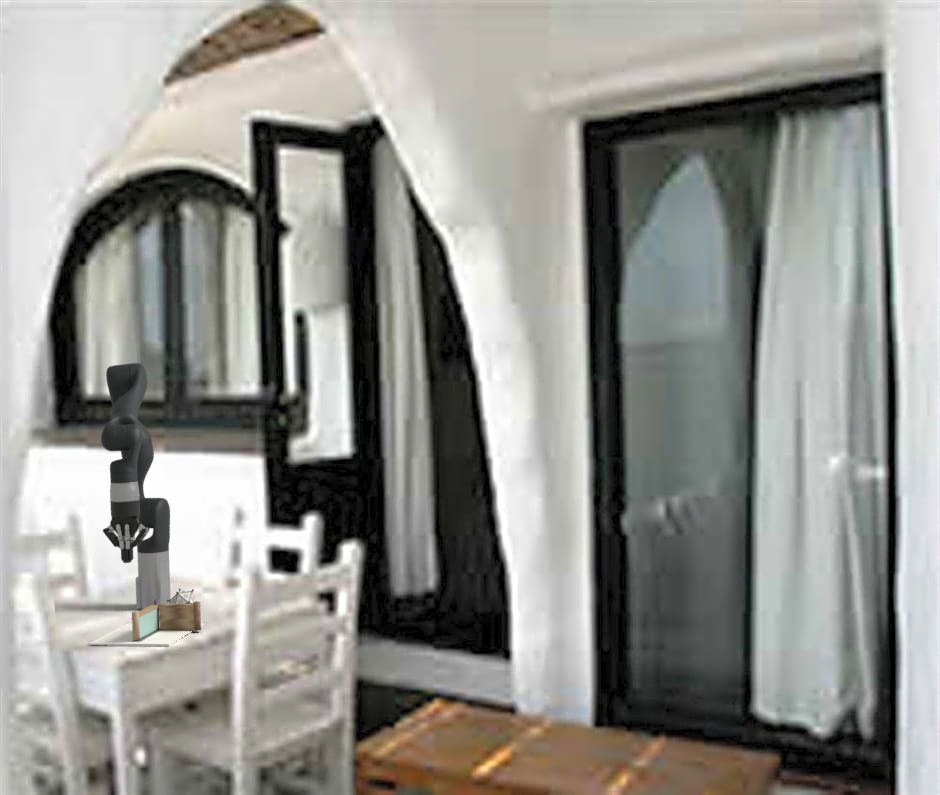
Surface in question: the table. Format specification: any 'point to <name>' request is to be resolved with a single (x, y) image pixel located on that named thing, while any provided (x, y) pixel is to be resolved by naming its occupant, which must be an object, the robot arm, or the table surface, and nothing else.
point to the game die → (183, 597)
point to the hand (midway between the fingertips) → (127, 562)
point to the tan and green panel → (144, 622)
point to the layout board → (125, 638)
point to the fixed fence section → (179, 616)
